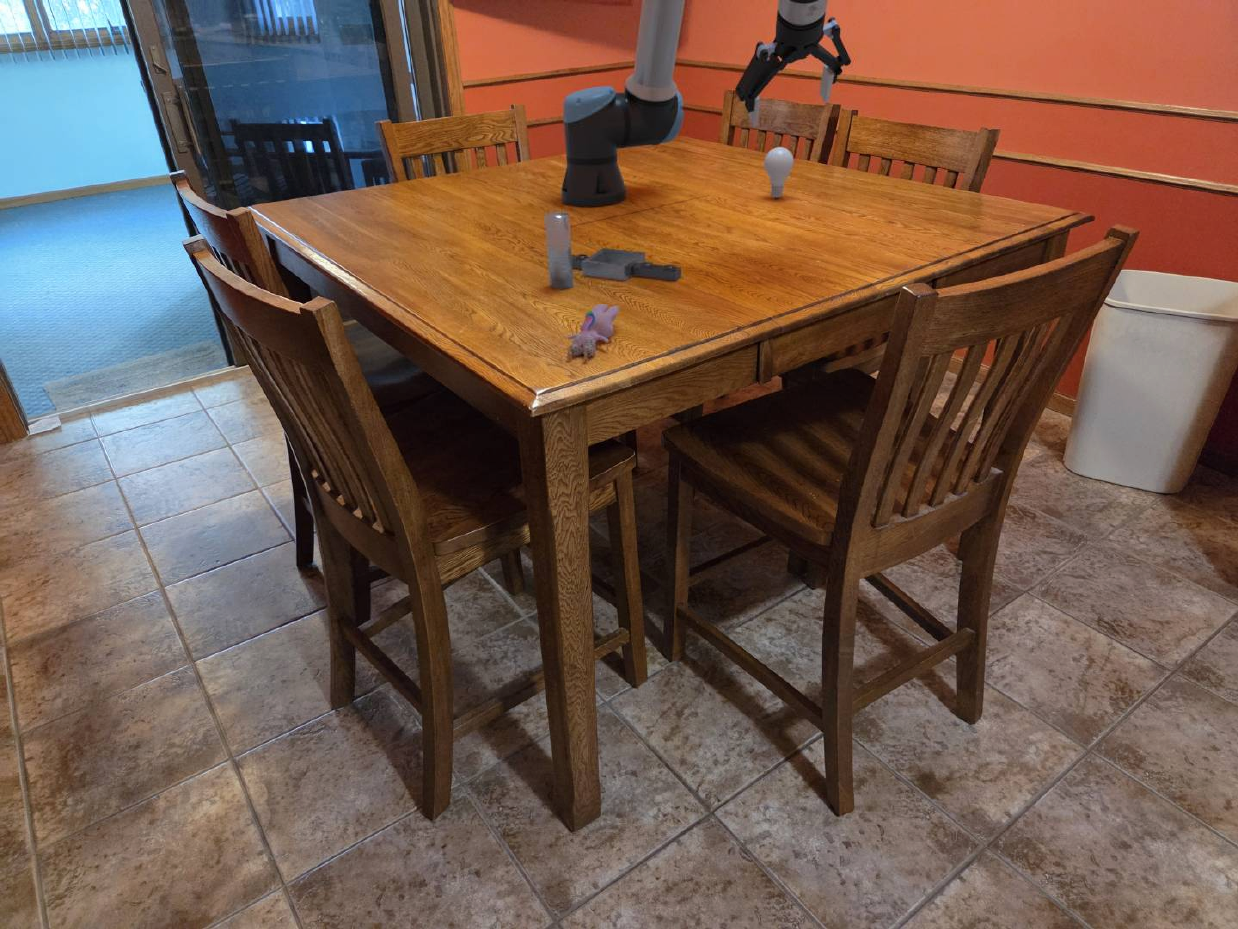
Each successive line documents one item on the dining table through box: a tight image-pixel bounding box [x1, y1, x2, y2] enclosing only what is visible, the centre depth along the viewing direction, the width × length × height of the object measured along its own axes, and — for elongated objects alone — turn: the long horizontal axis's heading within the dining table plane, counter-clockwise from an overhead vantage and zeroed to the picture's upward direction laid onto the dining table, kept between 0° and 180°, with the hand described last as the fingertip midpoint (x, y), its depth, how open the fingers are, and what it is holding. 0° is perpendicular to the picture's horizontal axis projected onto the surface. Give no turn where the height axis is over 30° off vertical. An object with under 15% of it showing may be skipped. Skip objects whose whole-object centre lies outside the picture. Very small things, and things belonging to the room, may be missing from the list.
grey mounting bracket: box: [572, 247, 682, 282], centre depth 144 cm, size 25×8×2 cm, turn 63°
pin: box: [543, 211, 575, 290], centre depth 136 cm, size 4×4×12 cm
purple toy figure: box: [566, 303, 620, 363], centre depth 117 cm, size 6×6×15 cm
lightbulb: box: [764, 146, 794, 200], centre depth 181 cm, size 6×6×11 cm
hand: (788, 109), depth 147 cm, fingers open, 13 cm apart
